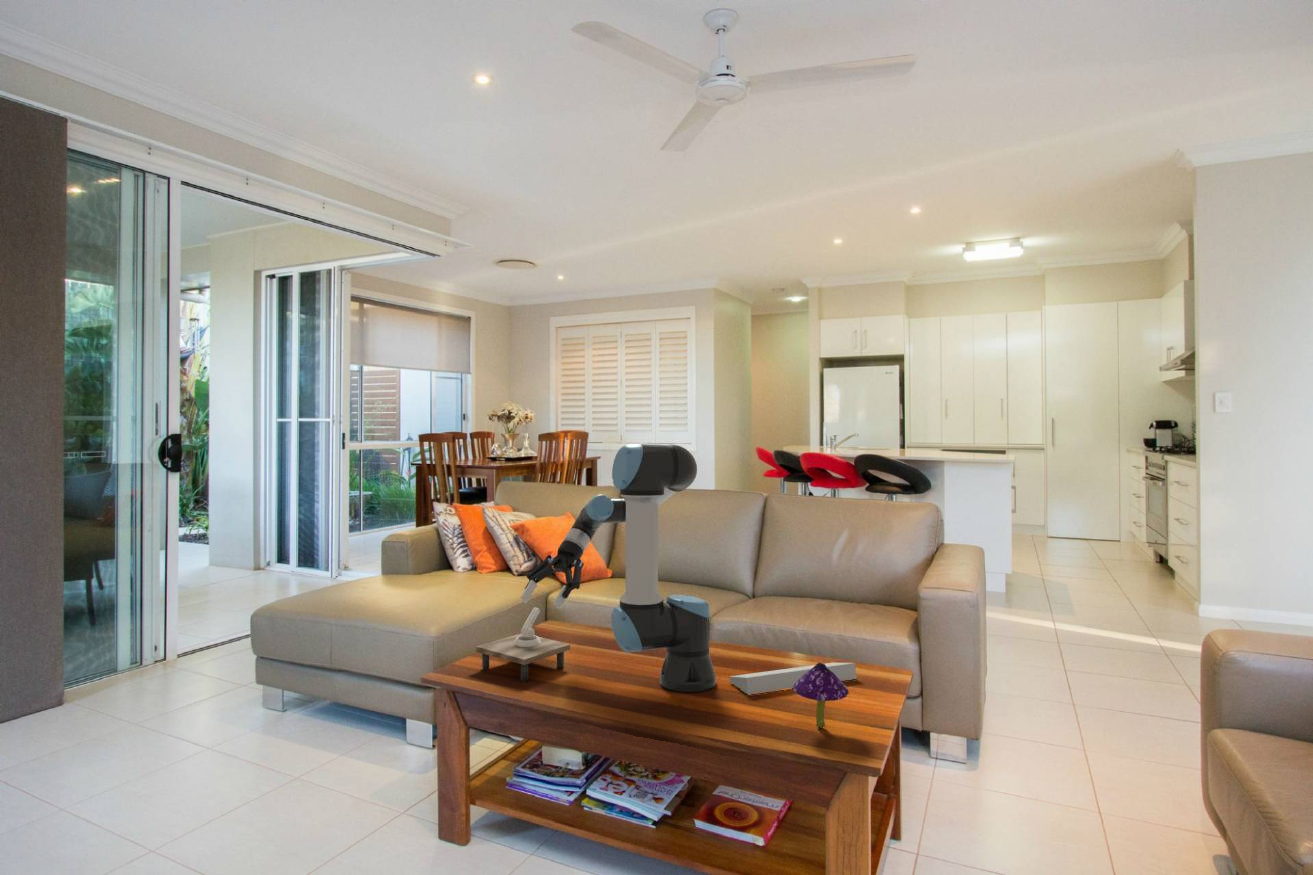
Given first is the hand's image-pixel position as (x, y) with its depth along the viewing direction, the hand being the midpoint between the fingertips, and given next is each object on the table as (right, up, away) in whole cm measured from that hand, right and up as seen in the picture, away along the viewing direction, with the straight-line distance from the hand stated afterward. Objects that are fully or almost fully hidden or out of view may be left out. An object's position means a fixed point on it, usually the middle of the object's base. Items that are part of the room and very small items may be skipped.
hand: (539, 603), depth 206 cm
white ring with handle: (-3, -11, -4) cm, 12 cm away
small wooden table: (-4, -17, -6) cm, 19 cm away
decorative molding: (+72, -18, -16) cm, 76 cm away
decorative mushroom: (+72, -17, -48) cm, 88 cm away
